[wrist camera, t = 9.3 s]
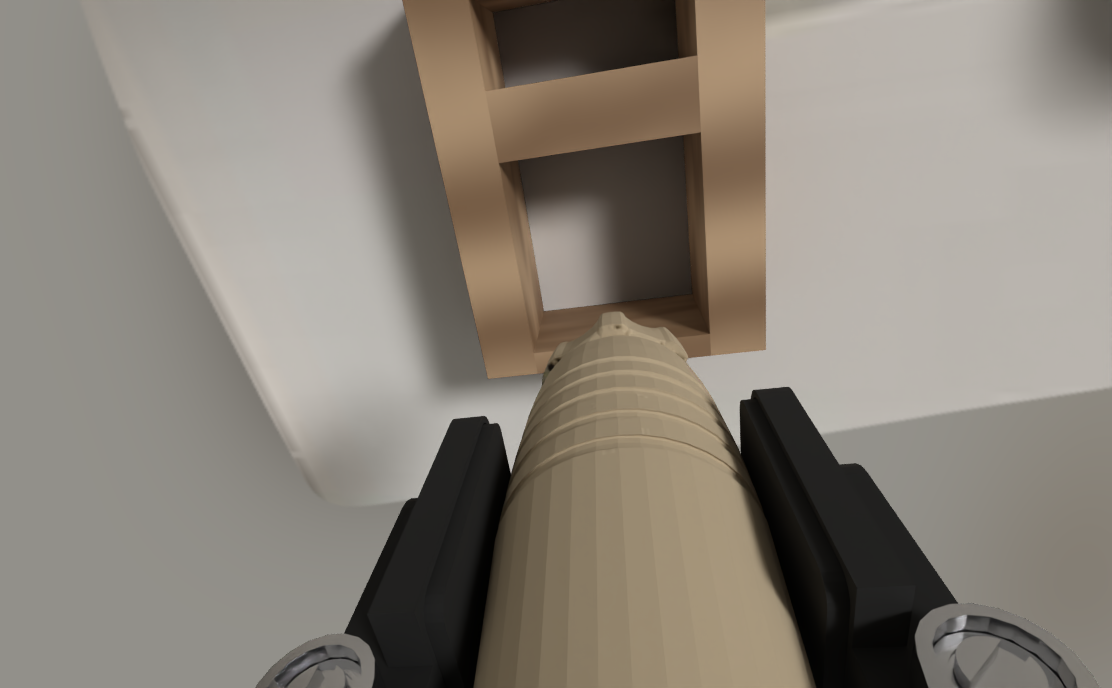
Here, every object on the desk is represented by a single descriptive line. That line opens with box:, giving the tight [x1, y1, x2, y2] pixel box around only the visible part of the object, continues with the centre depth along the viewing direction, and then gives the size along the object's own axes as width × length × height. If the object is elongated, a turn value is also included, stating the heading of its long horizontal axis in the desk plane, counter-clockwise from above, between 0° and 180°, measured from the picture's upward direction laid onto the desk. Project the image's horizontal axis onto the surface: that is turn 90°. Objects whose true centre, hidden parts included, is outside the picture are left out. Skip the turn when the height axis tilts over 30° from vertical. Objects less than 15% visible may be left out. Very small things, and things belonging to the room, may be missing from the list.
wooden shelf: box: [402, 0, 766, 379], centre depth 24 cm, size 16×12×5 cm
